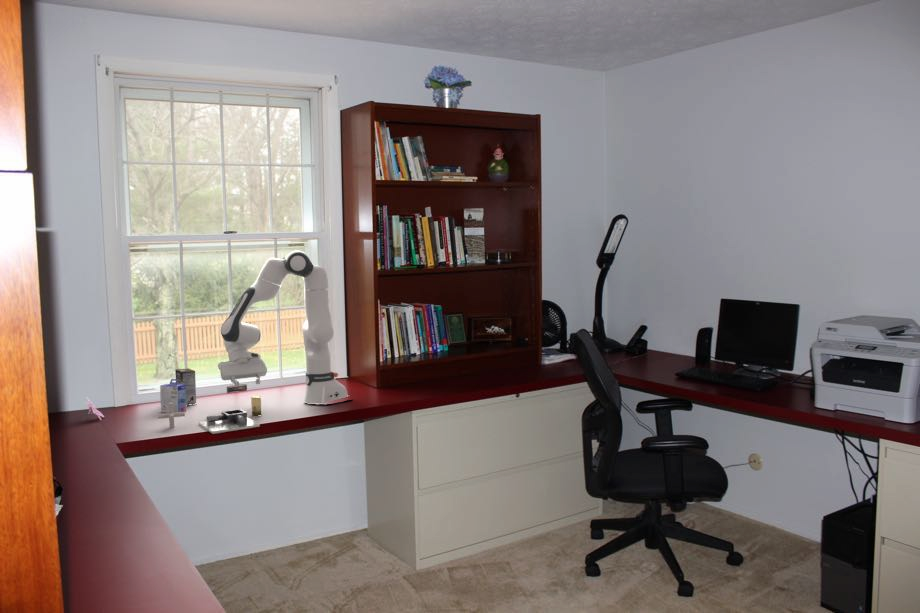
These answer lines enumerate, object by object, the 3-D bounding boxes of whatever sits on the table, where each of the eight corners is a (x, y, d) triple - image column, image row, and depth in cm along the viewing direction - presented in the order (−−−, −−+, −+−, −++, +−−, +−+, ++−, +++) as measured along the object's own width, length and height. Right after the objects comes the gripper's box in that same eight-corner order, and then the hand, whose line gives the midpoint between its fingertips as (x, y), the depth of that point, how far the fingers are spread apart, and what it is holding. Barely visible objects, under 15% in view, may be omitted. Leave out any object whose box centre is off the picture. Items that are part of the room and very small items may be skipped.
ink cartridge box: (187, 411, 330) (185, 379, 328) (178, 413, 324) (177, 381, 323) (169, 409, 333) (167, 378, 332) (160, 412, 328) (158, 380, 326)
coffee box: (176, 403, 346) (174, 369, 345) (190, 401, 350) (188, 367, 349) (182, 406, 339) (181, 372, 337) (196, 404, 343) (195, 370, 341)
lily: (90, 427, 306) (102, 406, 308) (66, 415, 307) (78, 394, 309) (105, 429, 318) (116, 408, 319) (81, 418, 319) (93, 397, 321)
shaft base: (243, 417, 315) (243, 407, 315) (259, 426, 300) (259, 415, 300) (198, 424, 304) (198, 413, 304) (212, 433, 289) (211, 422, 289)
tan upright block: (259, 414, 322) (258, 396, 322) (262, 415, 319) (262, 397, 318) (250, 415, 320) (249, 397, 319) (253, 417, 317) (253, 398, 316)
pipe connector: (184, 423, 307) (183, 399, 306) (185, 428, 298) (184, 404, 297) (158, 425, 303) (157, 401, 302) (158, 431, 294) (157, 406, 293)
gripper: (218, 357, 325) (226, 383, 318) (263, 353, 337) (271, 377, 330) (215, 366, 329) (223, 391, 322) (260, 362, 341) (268, 386, 334)
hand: (248, 384), depth 326 cm, fingers open, 8 cm apart
